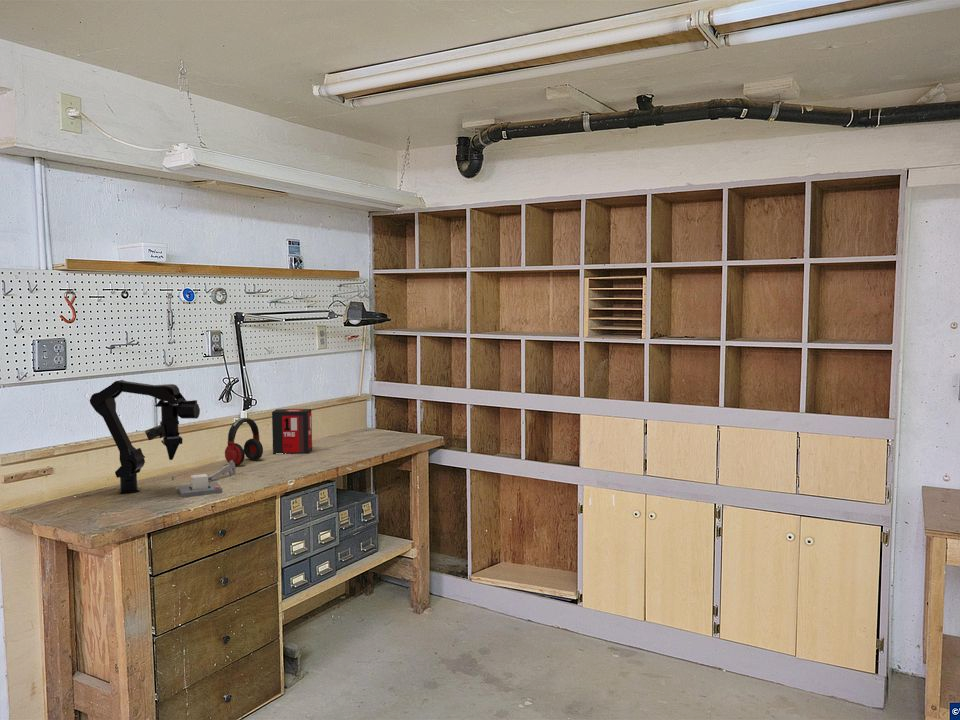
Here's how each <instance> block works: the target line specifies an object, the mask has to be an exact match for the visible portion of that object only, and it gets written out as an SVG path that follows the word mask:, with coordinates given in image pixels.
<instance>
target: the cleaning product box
mask: <svg viewBox="0 0 960 720" xmlns="http://www.w3.org/2000/svg"><path fill="white" fill-rule="evenodd" d="M312 420H313V419H312V408H292V409H291V408H279V409H278V408H277V409H275V410H273V411H271V423H272V429H271V430H272V454H273V455H277V454H276V453H283V454H282V455H309V454H310V453H311V452H312V451H313V431H312V430H313V427H312V426H313V422H312ZM285 453H286V454H285Z"/></svg>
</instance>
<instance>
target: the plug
mask: <svg viewBox="0 0 960 720" xmlns="http://www.w3.org/2000/svg"><path fill="white" fill-rule="evenodd" d="M208 476H209V475H207V473H203V474H202V473H201V474H192V475H190V485H191V490H199V489H207V488H208V483H209V481H208V480H210V481H212V480H213V479H212V477H208Z"/></svg>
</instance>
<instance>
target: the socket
mask: <svg viewBox="0 0 960 720" xmlns="http://www.w3.org/2000/svg"><path fill="white" fill-rule="evenodd" d="M177 492H178V493H179V496H180V497H181V498H183V499H184V498H189V497H199V496H204V495H205V494H207V495H214V493H215V494H223V488H222V487H221V485H220V484H219V483H218V482H217V481H211V482H208V488H207V489H199V490H191V484H187V485H179V486H177ZM198 495H199V496H198Z"/></svg>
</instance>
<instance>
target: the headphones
mask: <svg viewBox="0 0 960 720" xmlns="http://www.w3.org/2000/svg"><path fill="white" fill-rule="evenodd" d="M244 423H247V424H248V426H249V428H250V429H251V433H252V438H248V439H247V440H246V441H245V442H244V445H243V446H241V444H239V443H236V442H235V439H236V434H237V432H238V429H239V428H240V426H242V425H243V424H244ZM227 434H228V435H227V446H226V448H225V449H224V458H225V460H226V461H227V463H228V464H229V462H231V460H233V462H234V463H235V467H238V466H240V465H241V464H243V462H244V461H245V457H246V458H247V459H248V460H250V461H258V460H259V459H261V457H262V456H263V453H264V448H263V447H264V446H263V445H262V442H261V441H260V432H259V427H258V425H257V423H256V422H255V421H254V420H253V419H251V418H249V417H240V418H238V419H235V421H234V422H233V423H232V424H231V426H230V427H229V430H228V433H227Z"/></svg>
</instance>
